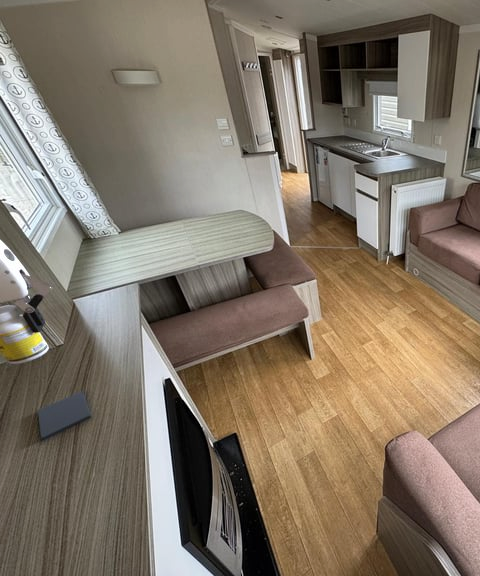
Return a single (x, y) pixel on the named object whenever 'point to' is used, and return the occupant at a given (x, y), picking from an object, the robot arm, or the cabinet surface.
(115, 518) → the cabinet surface
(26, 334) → the supplement bottle
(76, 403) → the mat
